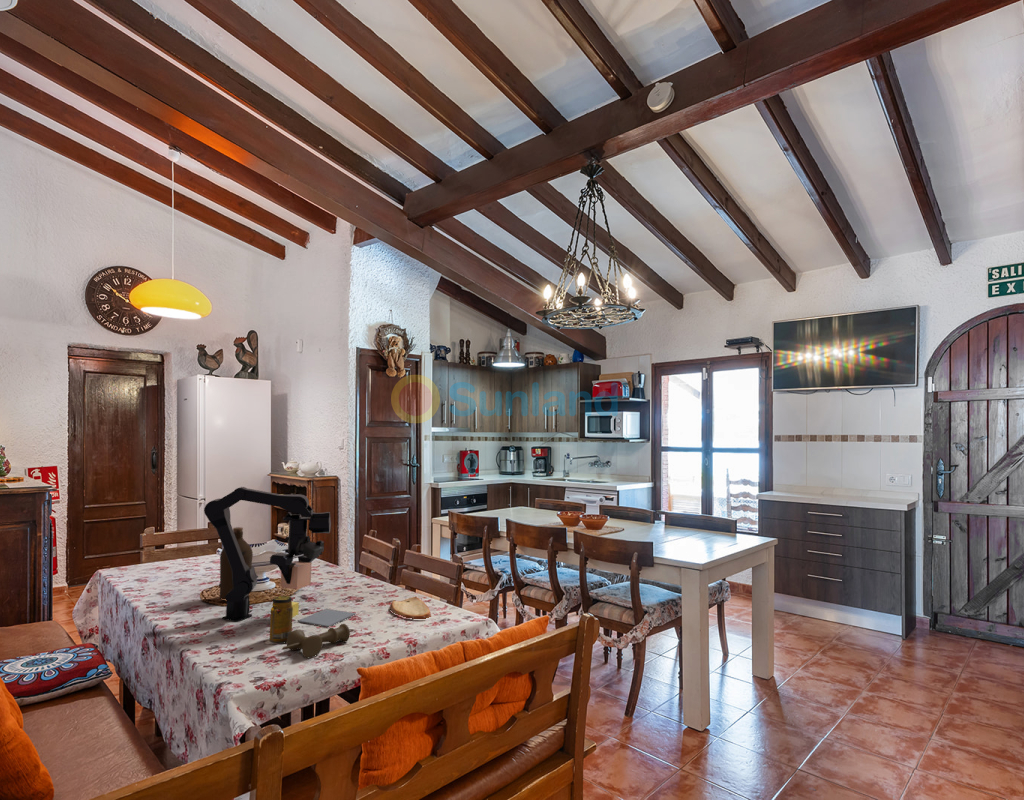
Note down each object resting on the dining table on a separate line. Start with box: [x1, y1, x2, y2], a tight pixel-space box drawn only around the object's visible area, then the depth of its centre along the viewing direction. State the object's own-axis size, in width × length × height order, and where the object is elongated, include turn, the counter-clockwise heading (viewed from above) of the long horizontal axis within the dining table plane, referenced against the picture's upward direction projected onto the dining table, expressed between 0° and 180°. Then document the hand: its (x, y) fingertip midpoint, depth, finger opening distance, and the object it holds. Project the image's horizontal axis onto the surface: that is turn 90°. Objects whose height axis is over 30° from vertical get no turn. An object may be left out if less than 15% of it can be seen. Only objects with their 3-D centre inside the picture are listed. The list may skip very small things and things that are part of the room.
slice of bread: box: [389, 596, 432, 619], centre depth 200 cm, size 18×18×4 cm
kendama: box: [282, 623, 351, 659], centre depth 164 cm, size 6×10×20 cm
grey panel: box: [297, 608, 357, 628], centre depth 190 cm, size 14×12×1 cm
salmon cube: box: [280, 560, 312, 590], centre depth 193 cm, size 7×7×7 cm
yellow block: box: [292, 601, 300, 618], centre depth 192 cm, size 4×4×4 cm
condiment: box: [264, 595, 293, 645], centre depth 171 cm, size 7×8×12 cm
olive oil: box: [218, 526, 254, 599], centre depth 210 cm, size 11×11×25 cm
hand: (295, 581), depth 192 cm, fingers closed on salmon cube, 7 cm apart
